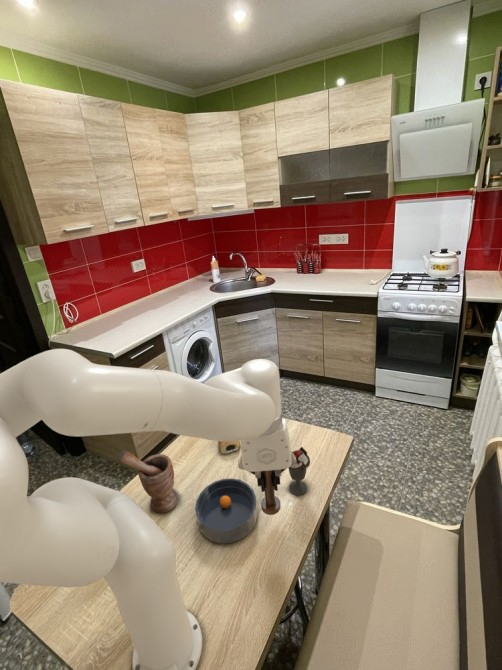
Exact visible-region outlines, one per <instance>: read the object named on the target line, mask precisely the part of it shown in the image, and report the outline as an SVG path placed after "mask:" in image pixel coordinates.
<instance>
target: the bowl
mask: <svg viewBox="0 0 502 670" xmlns="http://www.w3.org/2000/svg"><path fill="white" fill-rule="evenodd" d="M256 495H257V494H256V493H255V491H254V488H252V487H251V485H250V484H248V483H247V482H245V481H243V480H241V479H237V478H221V479H219V480H215V481H213V482H212V483H210V484H208V485H207V486H206V487H205V488H204V489H203V490H201V492H200V493H199V495H198V497H197V499H196V501H195V506H194V507H195V509H194V510H195V515H196V519H197V524H198V529H199V530H200V532H201V533H202V535H203V537H205V538H206V539H207V540H210V541H211V542H213V543H218V544H232V543H236V542H238V541H241V540H242V539H243V538H245V537H246V536H247V535H249V534H250V533H251V531H253V529H254V528H255V525H256V524H257V520H258V517H259V516H258V502H257V501H258V500H257V496H256ZM222 496H229V497H230V499H231V505H230V506H229V507H228V508H223V507H221V505H220V499H221V497H222Z"/></svg>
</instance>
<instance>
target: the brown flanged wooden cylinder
mask: <svg viewBox="0 0 502 670" xmlns="http://www.w3.org/2000/svg"><path fill="white" fill-rule="evenodd" d="M263 477H264V487H265V491H264V497H263V498H262V499H261V502H260V507H261V511H262V512H263V513H264V514H266V515H268V516H273V515H276V514H278V513H279V512H280V510H281V507H282V506H281V500H280V498H279V497H278V496H276V491H275V490H274V481H273V470H270V471H263Z"/></svg>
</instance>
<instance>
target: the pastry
mask: <svg viewBox="0 0 502 670" xmlns="http://www.w3.org/2000/svg"><path fill="white" fill-rule="evenodd" d="M217 444H218V446H219V447H218V448H219V450H220V451H219V452H220V453H222V455H226V454H227V455H228V454H231V453H232V452H236V451H238V450H239V449H240V448H241V441H234V442H221V441H217Z"/></svg>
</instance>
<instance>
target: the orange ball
mask: <svg viewBox="0 0 502 670" xmlns="http://www.w3.org/2000/svg"><path fill="white" fill-rule="evenodd" d="M220 505H221V507H223V508H228V507H229V506H230V505H231V499H230V497H229V496H222V497H221V499H220Z"/></svg>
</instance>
